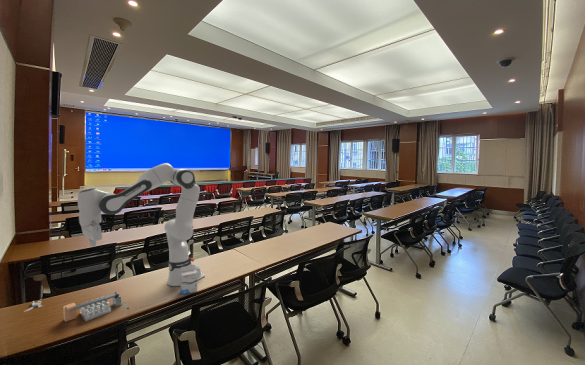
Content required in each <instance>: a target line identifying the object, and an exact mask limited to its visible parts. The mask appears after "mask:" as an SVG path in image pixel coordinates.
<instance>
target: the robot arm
mask: <svg viewBox="0 0 585 365" xmlns="http://www.w3.org/2000/svg"><path fill="white" fill-rule="evenodd" d="M167 182H170V183H171V184H173V185H174V186H178V187H181V193H180V195H179V196H180V197H179V199H178V201H177V205H176V208H175V218H173V219H169V220H168V221H167V222H166V223H165V225H164V230H165V233H166V234H165V236H166V239H167V244H168V251H169V252H168V253H169V254H168V256H169V257H168V258H169V260H168V278H167V282H166V284H167V285H168V286H172V287H178V286H179V287H181V267H185V266H190V265H195V270H196V271H197V281H199V280H201V279H202V278H204V277H205V273H204V272H202V271H201V267H200V266H199V265H197V264H195V263H194V261H195V258H193V257H189V244H188V242H187V241H188V240H190V239H191V238H192V236H193V235H194V228H193V223H194V214H195V210H196V207H197V206H198V205H197V204H198V201H199V198H200V193H201V188H200V186H199V185H198V184H197V183H196V176H195V173H194V172H193V171H192V170H190V169H188V168H179V169H178V168H177V169H175V168H174V167H173V165H171V164H170V163H168V162H166V163H165V162H163V163H161V164H158V165H156V166H153V167H151V168H149V169H148V170H146V171H144V172H143V173H142V174H141V175H139V177H138V180H137V181H136V182H135V183H134V184H133V185H132V186H130V187H128V188H126V189H125V190H123V191H121V192H119V193H117V194H116V193H112V192H107V191H103V190H100V189H98V188H96V187H94V188H93V187H92V188H91V187H90V188H86V189H83V190H81V191H79V193H78V194H77V207H78V210H79V213H78V223H79V225H80V227H81V232H82V235H84V236H85V237H87V238H88V240H89V244H90V246H91V247H96V246H97V241H101V240H102V239H103V234H102V229H101V228H102V226H101V225H100V223H102V213H103V214H104V215H108V216H110V215H111V216H113V215H117V214H119V213H121V212H122V211H123V209H124V208H125V207H126V206H127V205H128V203H130V202H132V201H134V200H135V199H137V198H138V197H140V196H141V195H143V194H144V193H146V192H149V191H152V190H154V189H157V188H158V187H160V186H162V185H164V184H165V183H167ZM101 212H102V213H101ZM190 268H191V267H190ZM190 268H189V267H188V268H186V269H190Z"/></svg>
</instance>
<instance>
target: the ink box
mask: <svg viewBox="0 0 585 365" xmlns="http://www.w3.org/2000/svg"><path fill="white" fill-rule="evenodd" d="M195 265H196V264H195ZM195 265H190V266H185V267H181V286H180V294H181V295H187V294H192V293H196V291H197V292H198V280H197V271H196V270H195ZM188 267H189V268H190V267H191V268H190V269H186V268H188Z"/></svg>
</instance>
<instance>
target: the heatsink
mask: <svg viewBox="0 0 585 365" xmlns="http://www.w3.org/2000/svg"><path fill="white" fill-rule="evenodd" d="M101 297H104V296H103V295H102V296H101ZM98 298H99V297H97V298H95V299H98ZM92 300H93V299H91V300H90V301H92ZM121 300H122V296H121V295H120V294H119V297H117V296H116V297H113V298H112V305H113V306H114V307H115V308H117V307H119V306H122V303H121ZM88 301H89V300H87V301H86V302H88ZM82 303H83V302H82ZM82 303H80V304H82ZM111 312H112V308H111V307H110V302H109V301H108V299H107V300H104V301H100V302H97V303H94V304H91V305H88V306H85V307H81V308H80V309H79V314H80V316H81V317H82V319H83V320H84V321H85V322H88V321H91V320H93V319H95V318H99V317H101V316H103V315H106V314H108V313H111Z"/></svg>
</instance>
